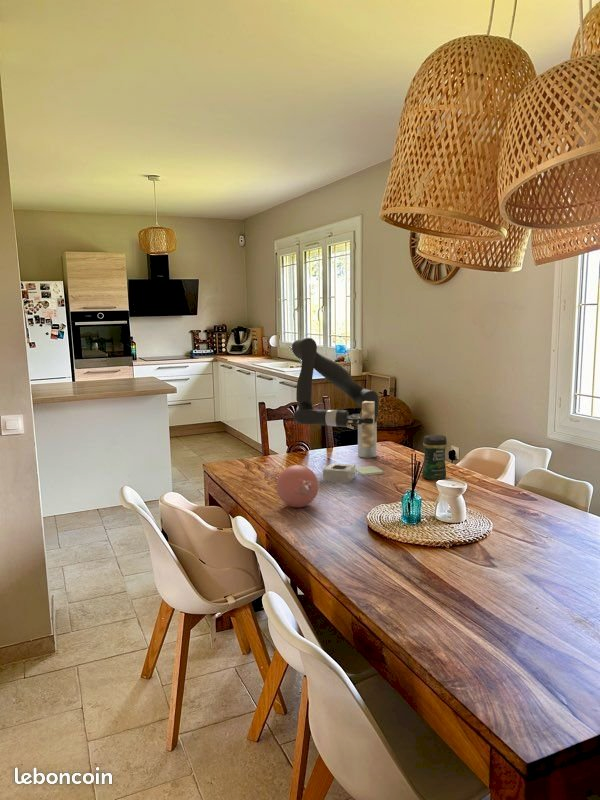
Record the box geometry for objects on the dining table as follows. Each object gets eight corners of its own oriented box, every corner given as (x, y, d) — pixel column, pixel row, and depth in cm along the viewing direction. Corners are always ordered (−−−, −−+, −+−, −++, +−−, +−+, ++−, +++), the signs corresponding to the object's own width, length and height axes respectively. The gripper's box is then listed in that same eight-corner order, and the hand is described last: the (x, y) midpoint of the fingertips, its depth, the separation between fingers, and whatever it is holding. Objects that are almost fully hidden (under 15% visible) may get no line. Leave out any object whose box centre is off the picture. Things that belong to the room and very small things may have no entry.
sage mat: (353, 470, 257) (353, 468, 256) (373, 468, 260) (373, 465, 259) (362, 475, 247) (362, 473, 247) (383, 473, 250) (383, 471, 250)
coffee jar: (427, 481, 238) (428, 437, 235) (419, 476, 245) (420, 434, 243) (449, 479, 239) (449, 436, 237) (440, 474, 247) (441, 432, 244)
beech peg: (361, 447, 250) (362, 402, 248) (364, 445, 255) (364, 401, 252) (371, 447, 249) (372, 402, 246) (374, 445, 253) (374, 401, 250)
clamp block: (323, 480, 241) (322, 469, 240) (331, 474, 251) (331, 463, 250) (347, 483, 237) (347, 471, 236) (355, 476, 247) (355, 465, 246)
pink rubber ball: (285, 519, 195) (284, 476, 193) (272, 501, 215) (271, 462, 212) (327, 514, 199) (327, 472, 197) (311, 497, 218) (311, 459, 216)
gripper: (332, 412, 248) (370, 414, 242) (342, 407, 261) (378, 409, 255) (332, 429, 249) (370, 431, 243) (342, 423, 262) (378, 425, 256)
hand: (374, 420), depth 249 cm, fingers closed on beech peg, 4 cm apart
